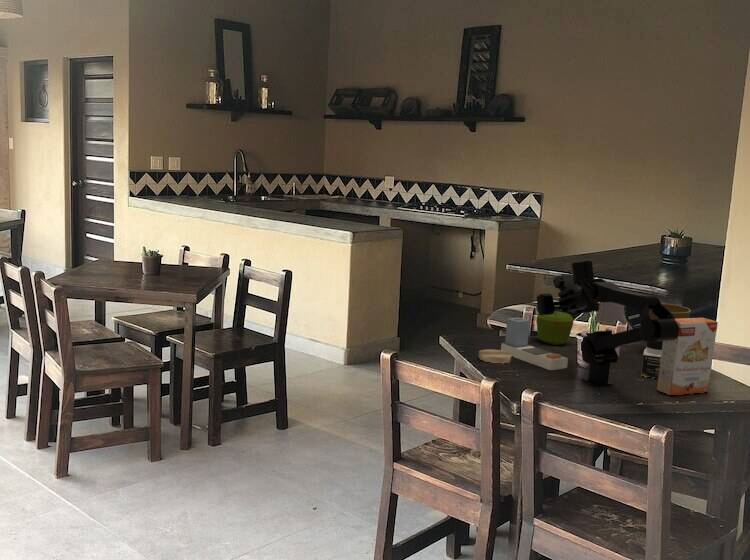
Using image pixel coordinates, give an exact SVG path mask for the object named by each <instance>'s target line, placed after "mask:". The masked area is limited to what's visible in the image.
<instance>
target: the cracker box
mask: <svg viewBox="0 0 750 560" xmlns="http://www.w3.org/2000/svg"><path fill="white" fill-rule="evenodd" d="M675 320H676V322H677V324H678V326H679V334H678V338H677V339H675V340H670V341H663V345H662V353H661V361H660V368H659V376H658V379H657V385H656V386H657V387H656V391H657V390H658V392H660V393H662V392H663V394H664V393H666V394H665V395H667V394H668V396H669V395H677V396H685V395H684V394H689V395H695V394H694V393H700V394H703V393H702V392H709V391H708V390H709V387H710V386H709V385H710V377H711V370H712V364H713V356H714V353H715V352H714V351H715V343H716V338H717V337H716V336H717V331H718V330H717V329H718V324H719V322H718V321H716V320H713V319H709V318H705V317H689V318H679V319H675Z"/></svg>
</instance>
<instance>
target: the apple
mask: <svg viewBox="0 0 750 560" xmlns="http://www.w3.org/2000/svg"><path fill="white" fill-rule="evenodd" d="M535 321H536V329H537V330H536V331H537V337H538V339H539V340H540V341H542V342H543V343H545V344H549V345H553V346H562V345H564V344H565V343H567V342H568V341H569V340H570V336H571V332H572V328H573V327H574V326H573V325H574V317H573V316H572V314H569V313H568V312H563V313H562V311H558V310H555V311H554V314H551V315H540V314H539V313H538V314H537V316H536V320H535Z"/></svg>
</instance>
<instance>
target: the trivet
mask: <svg viewBox="0 0 750 560" xmlns="http://www.w3.org/2000/svg"><path fill="white" fill-rule="evenodd" d="M478 358H479V359H480V360H483V361H485V362H484V363H486V362H491V363H502V364H501V365H505V364H504V363H508V364H510V363H511V362H512V356H511V354H510V353H508V352H505V351H501V349H491V348H490V349H480V350H479V351H478ZM479 359H478V360H479ZM480 360H479V361H480ZM491 363H490V364H491Z"/></svg>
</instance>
